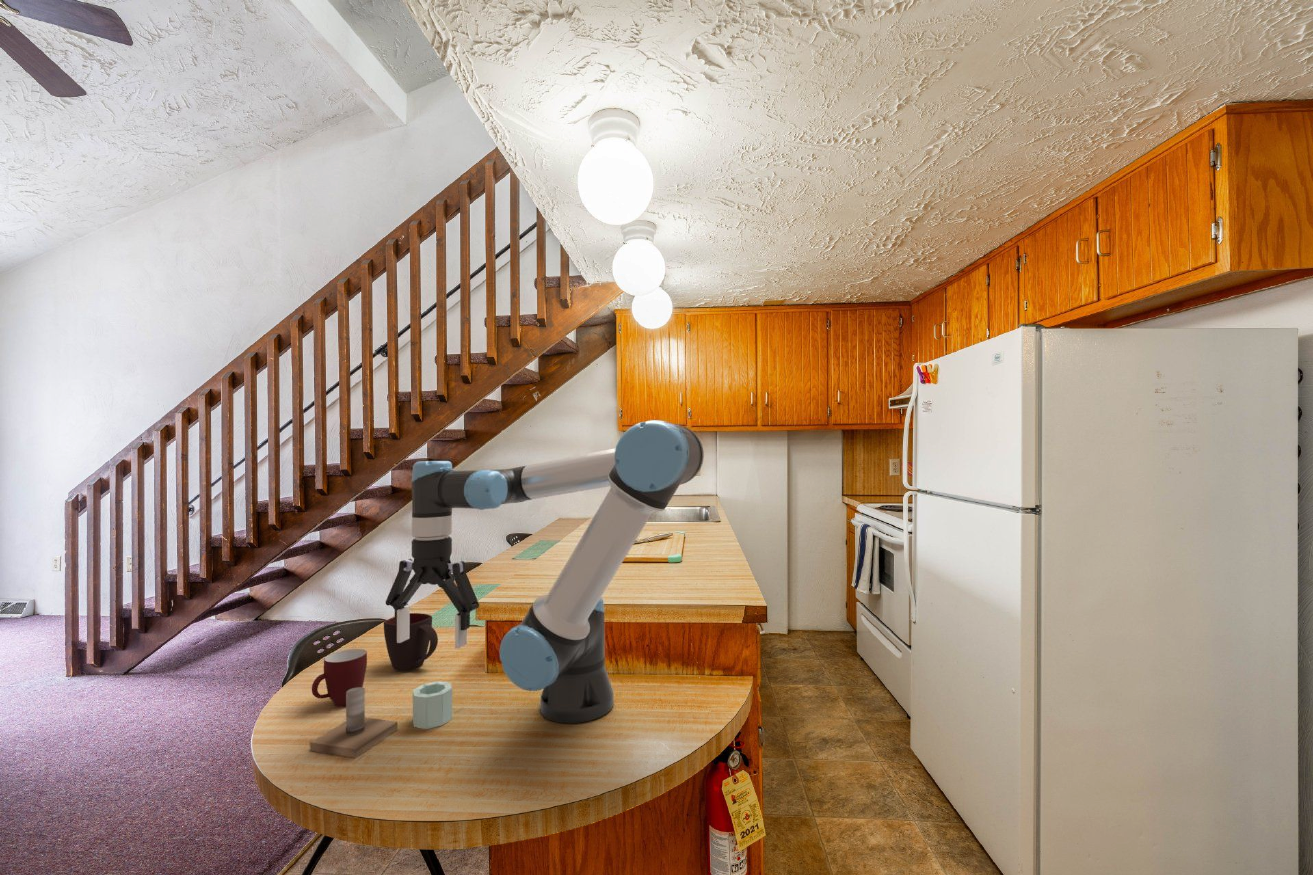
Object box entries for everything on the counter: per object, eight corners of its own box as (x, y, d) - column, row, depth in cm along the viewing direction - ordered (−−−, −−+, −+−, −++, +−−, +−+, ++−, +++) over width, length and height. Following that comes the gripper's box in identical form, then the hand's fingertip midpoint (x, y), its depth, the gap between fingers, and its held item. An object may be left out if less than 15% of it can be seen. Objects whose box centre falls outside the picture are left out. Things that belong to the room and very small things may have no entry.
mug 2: (410, 657, 140) (410, 611, 141) (450, 664, 135) (450, 616, 135) (377, 671, 131) (377, 622, 132) (418, 680, 126) (418, 628, 126)
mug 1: (326, 719, 107) (326, 669, 108) (302, 711, 111) (303, 662, 111) (374, 698, 117) (375, 651, 117) (351, 691, 120) (352, 646, 121)
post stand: (397, 729, 103) (397, 682, 103) (355, 757, 93) (355, 705, 93) (355, 723, 105) (355, 677, 106) (310, 750, 96) (310, 699, 96)
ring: (458, 713, 109) (458, 683, 109) (435, 730, 102) (435, 698, 102) (429, 709, 111) (429, 680, 111) (405, 726, 104) (405, 694, 104)
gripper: (496, 536, 108) (496, 641, 107) (394, 532, 115) (393, 632, 114) (474, 541, 101) (474, 655, 100) (366, 537, 108) (365, 644, 107)
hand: (431, 643), depth 107 cm, fingers open, 13 cm apart
